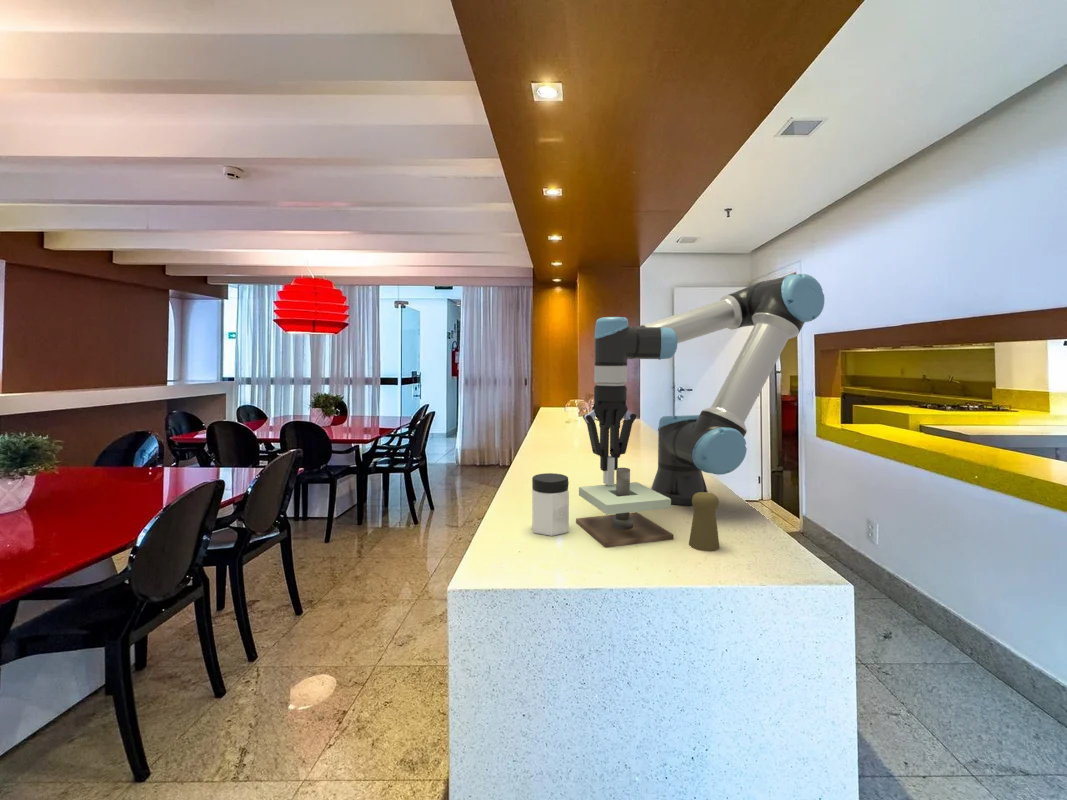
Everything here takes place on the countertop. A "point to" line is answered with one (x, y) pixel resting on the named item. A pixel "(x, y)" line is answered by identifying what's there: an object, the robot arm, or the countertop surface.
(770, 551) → the countertop surface
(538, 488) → the jar
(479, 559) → the countertop surface
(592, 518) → the post
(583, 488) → the square plate with hole
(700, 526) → the cork
